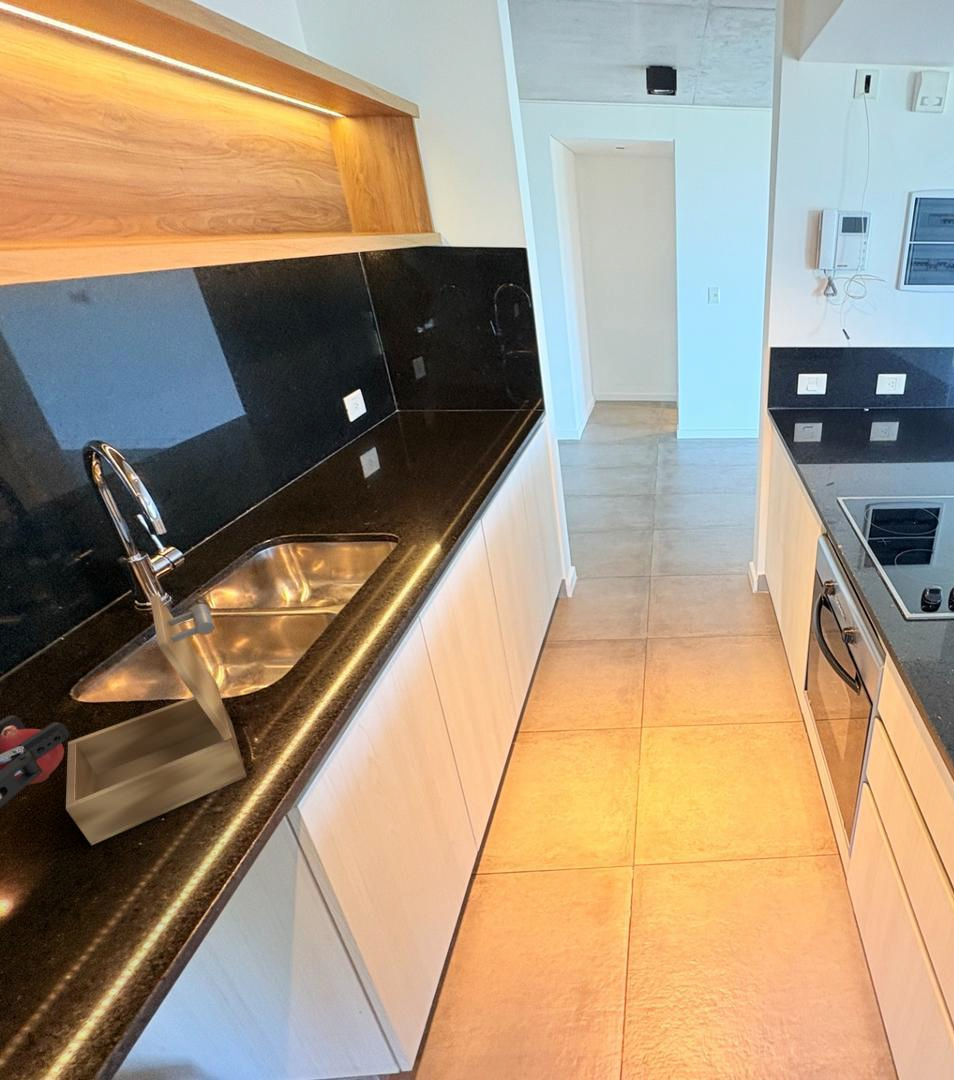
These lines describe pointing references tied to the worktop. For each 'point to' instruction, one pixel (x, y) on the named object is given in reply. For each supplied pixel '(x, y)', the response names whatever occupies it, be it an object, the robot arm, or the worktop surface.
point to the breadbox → (147, 768)
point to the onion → (46, 762)
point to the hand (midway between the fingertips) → (40, 725)
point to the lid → (190, 658)
